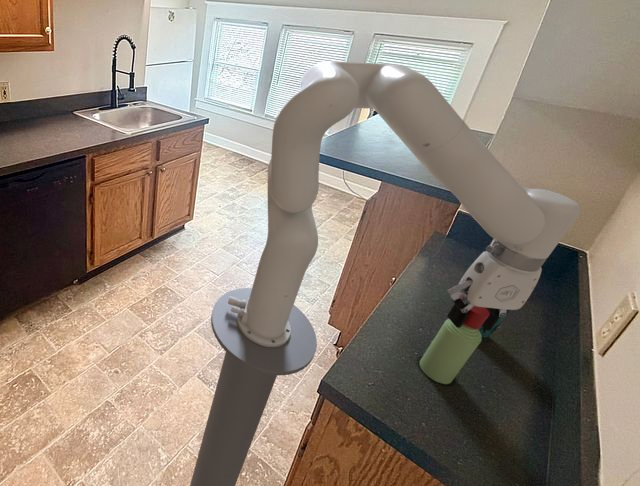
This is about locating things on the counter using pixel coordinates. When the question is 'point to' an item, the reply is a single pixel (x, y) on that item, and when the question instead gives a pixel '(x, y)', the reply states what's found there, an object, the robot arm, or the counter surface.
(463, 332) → the sauce bottle
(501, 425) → the counter surface
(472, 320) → the cap
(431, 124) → the robot arm
